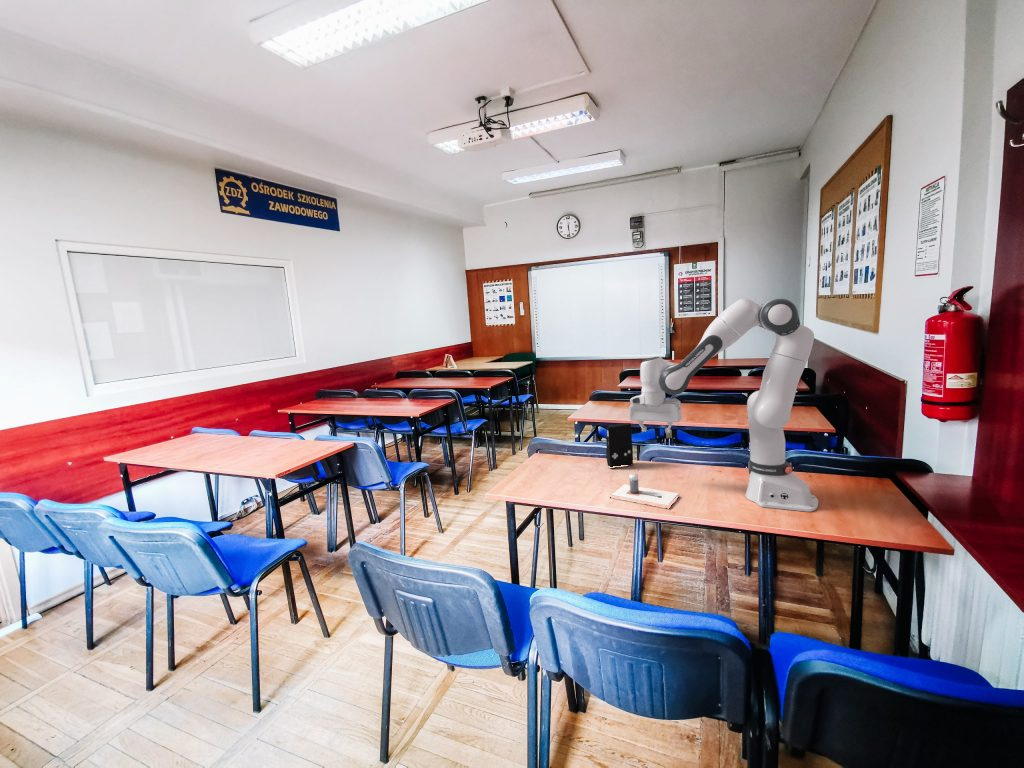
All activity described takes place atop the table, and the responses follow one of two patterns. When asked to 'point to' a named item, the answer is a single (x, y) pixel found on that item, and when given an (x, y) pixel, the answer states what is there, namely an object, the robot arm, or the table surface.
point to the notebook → (647, 495)
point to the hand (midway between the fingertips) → (655, 432)
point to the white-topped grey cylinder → (634, 483)
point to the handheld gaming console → (619, 445)
